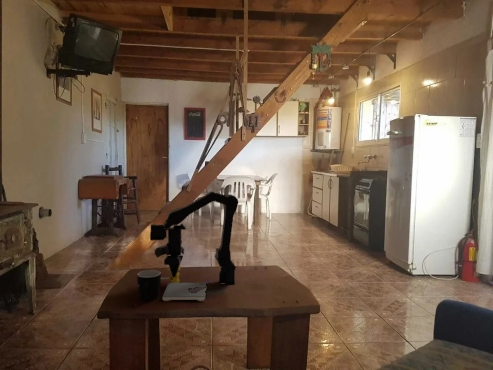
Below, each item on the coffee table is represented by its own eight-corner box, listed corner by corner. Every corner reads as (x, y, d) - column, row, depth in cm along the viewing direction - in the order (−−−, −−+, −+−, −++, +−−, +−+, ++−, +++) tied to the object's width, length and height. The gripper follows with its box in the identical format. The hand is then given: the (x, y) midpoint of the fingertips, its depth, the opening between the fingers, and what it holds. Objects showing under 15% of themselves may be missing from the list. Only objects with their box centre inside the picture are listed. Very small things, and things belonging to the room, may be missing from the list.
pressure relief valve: (177, 286, 153) (175, 262, 154) (153, 287, 157) (151, 263, 158) (183, 283, 158) (181, 260, 159) (160, 284, 162) (158, 261, 163)
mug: (140, 294, 146) (139, 269, 145) (162, 294, 147) (162, 269, 146) (133, 306, 134) (132, 280, 133) (157, 306, 135) (157, 279, 134)
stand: (206, 287, 155) (206, 282, 154) (204, 302, 140) (204, 296, 139) (168, 288, 154) (168, 282, 153) (162, 302, 139) (162, 296, 138)
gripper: (159, 234, 165) (159, 268, 166) (151, 244, 146) (151, 282, 148) (184, 234, 166) (184, 268, 167) (179, 244, 147) (179, 282, 148)
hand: (174, 274), depth 157 cm, fingers closed on pressure relief valve, 5 cm apart
